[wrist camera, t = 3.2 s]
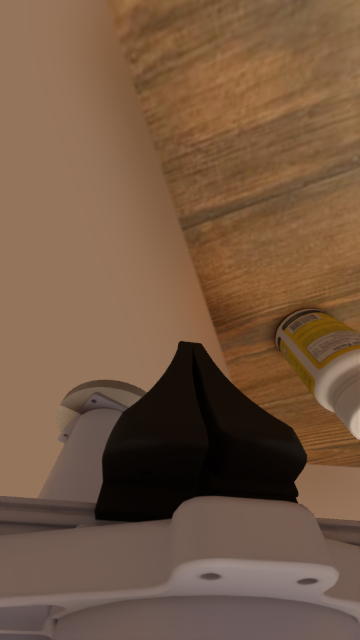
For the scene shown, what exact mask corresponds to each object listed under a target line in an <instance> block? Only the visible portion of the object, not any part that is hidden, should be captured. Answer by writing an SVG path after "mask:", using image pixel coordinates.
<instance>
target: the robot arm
mask: <svg viewBox="0 0 360 640" xmlns="http://www.w3.org/2000/svg"><path fill="white" fill-rule="evenodd" d="M58 440H59V441H61V442H63V443H65V445H64V447H63V449H62V451H61V453H60V455H59V457H58V459H57V461H56V463H55V465H54V467H53V469H52V471H51V473H50V474H49V476H48V478H47V480H46V482H45V484H44V486H43V488H42V490H41V492H40V494H39V497H38V499H34V498H20V497H6V496H0V640H360V521H354V520H339V519H325V518H315V516H314V514H313V513H311V511H310V510H309V509H308V508H307V507H305V506H303V505H301V504H298V502H297V500H296V497H298V490H297V488H296V486H295V483H294V481H295V480H296V479H297V477H298V476H299V474H300V473H301V472H302V470H303V469H304V467H305V465H306V462H307V454H306V452H305V450H304V448H303V446H302V444H301V442H300V440H299V438H298V437H297V435H296V433H295V432H294V430H293V428H292V427H290V426H288V425H287V424H285V423H283V422H282V421H280V420H279V419H277V418H275V417H274V416H272V415H271V414H269V413H268V412H266V411H265V410H263V409H262V408H261V407H259V406H258V405H256V404H255V403H254V402H252V401H251V400H250V399H249V398H248V397H246V396H245V395H244V394H243V393H242V392H241V391H239V390H238V389H237V388H236V387H235V386H234V385H233V384H232V383H231V382H230V381H229V380H228V379H227V378H226V377H225V376H224V375H223V373H222V372H221V371H220V369H219V368H218V367H217V366H216V364H215V363H214V362H213V360H212V359H211V357H210V356H209V354H208V353H207V351H206V350H205V348H204V347H203V345H202V344H201V343H193V342H184V341H180V342H179V344H178V349H177V352H176V354H175V356H174V358H173V360H172V362H171V364H170V365H169V367H168V369H167V370H166V372H165V373H164V374H163V376H162V377H161V378H160V379H159V381H158V382H157V383H156V384H155V385H154V387H153V388H152V389H151V390H150V391H149V392H147V393H146V394H145V395H144V396H143V397H142V398H141V399H140V400H139V401H137V402H136V403H135V404H133V405H132V406H131V407H129V408H128V407H126V406H124V405H122V404H120V403H118V402H116V401H114V400H112V399H110V398H108V397H106V396H104V395H102V394H101V393H98V392H95V393H93V394H92V396H91V397H90V398H89V399H88V401H87V402H86V403H85V404H84V406H83V407H82V408H81V409H80V411H79V412H78V413H77V414H76V416H75V417H74V418H73V419H72V421H71V422H70V423H69V424H68V426H67V427H66V428H65V429H64V431H63V432H62V433H61V434H60V436H59V438H58Z"/></svg>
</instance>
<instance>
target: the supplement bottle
mask: <svg viewBox="0 0 360 640" xmlns="http://www.w3.org/2000/svg"><path fill="white" fill-rule="evenodd" d="M276 345H277V347H278V349H279V351H280V352H281V353H282V355H283V356H284V357H285V359H286V360H287V361H288V363H289V364H290V365H291V367H292V368H293V369H294V371H295V372H296V373H297V375H298V376H299V377H300V379H301V380H302V381H303V383H304V384H305V385H306V387H307V388H308V389H309V391H310V392H311V393H312V395H313V396H314V397H315V399H316V400H317V401H318V402H319V403H320V404H321V405H322V406H323V407H324V408H326V409H327V410H329V411H332V412H334V413H335V414H336V415H337V416H338V418H339V419H340V420H341V421H342V422H343V424H344V425H345V426H346V427H347V429H348V430H349V431H350V432H351V433H352V435H354V436H355V437H356V438H358V439H359V440H360V334H359V333H358V332H356V331H354V330H353V329H351V328H350V327H348V326H347V325H345V324H343V323H342V322H341V321H339V320H337V319H336V318H334V317H332V316H331V315H329V314H328V313H326V312H324V311H322V310H319V309H304V310H300V311H297V312H295V313H293V314H291V315H290V316H288V317H287V318H286V319H285V320H284V321H283V322H282V323H281V325H280V326H279V328H278V330H277V333H276Z"/></svg>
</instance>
